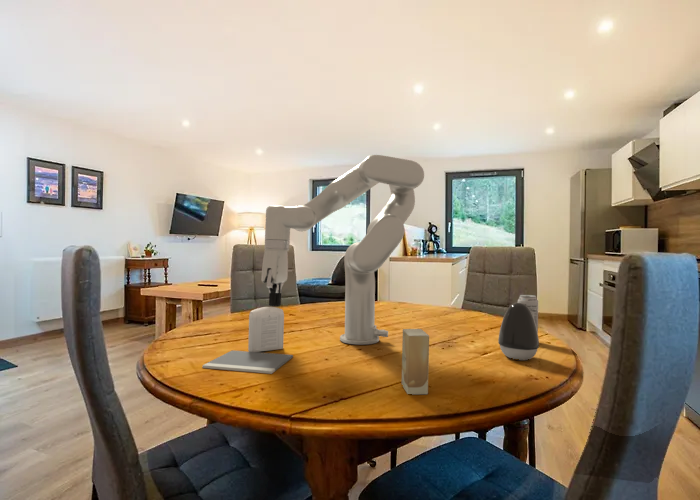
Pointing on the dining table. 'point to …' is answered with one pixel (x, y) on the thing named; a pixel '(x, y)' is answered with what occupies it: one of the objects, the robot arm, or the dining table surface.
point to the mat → (249, 361)
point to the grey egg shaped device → (518, 333)
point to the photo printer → (266, 329)
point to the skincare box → (415, 361)
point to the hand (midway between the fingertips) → (274, 305)
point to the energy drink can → (531, 306)
